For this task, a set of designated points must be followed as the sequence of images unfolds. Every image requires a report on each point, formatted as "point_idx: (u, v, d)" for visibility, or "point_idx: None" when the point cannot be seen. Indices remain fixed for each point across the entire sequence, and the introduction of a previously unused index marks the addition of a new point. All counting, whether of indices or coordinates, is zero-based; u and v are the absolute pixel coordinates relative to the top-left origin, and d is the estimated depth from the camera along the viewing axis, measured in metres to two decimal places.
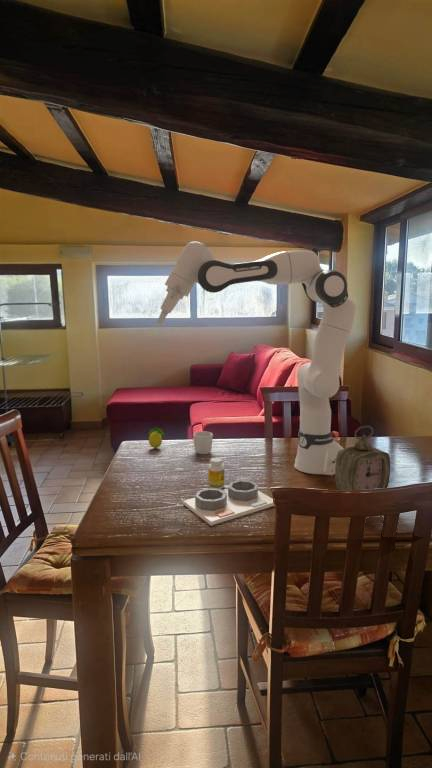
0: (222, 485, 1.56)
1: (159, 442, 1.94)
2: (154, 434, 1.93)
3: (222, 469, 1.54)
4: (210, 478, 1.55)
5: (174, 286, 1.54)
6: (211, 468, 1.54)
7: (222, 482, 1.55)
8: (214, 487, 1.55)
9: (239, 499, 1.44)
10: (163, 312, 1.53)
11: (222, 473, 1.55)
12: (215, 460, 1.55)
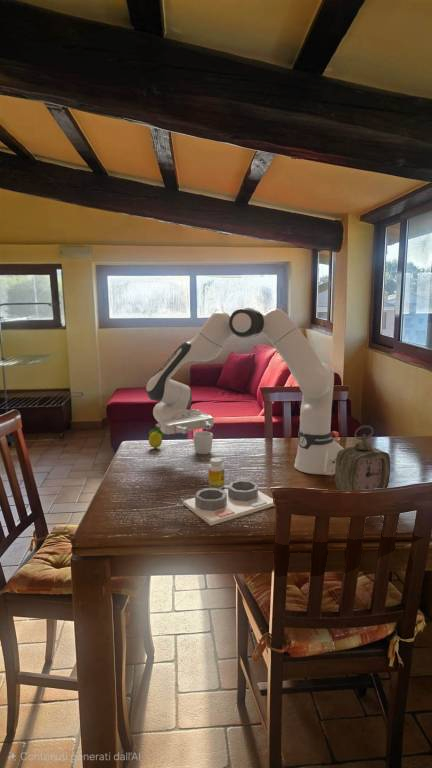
0: (222, 485, 1.56)
1: (159, 442, 1.94)
2: (154, 434, 1.93)
3: (222, 469, 1.54)
4: (210, 478, 1.55)
5: None
6: (211, 468, 1.54)
7: (222, 482, 1.55)
8: (214, 487, 1.55)
9: (239, 499, 1.44)
10: (176, 430, 1.64)
11: (222, 473, 1.55)
12: (215, 460, 1.55)
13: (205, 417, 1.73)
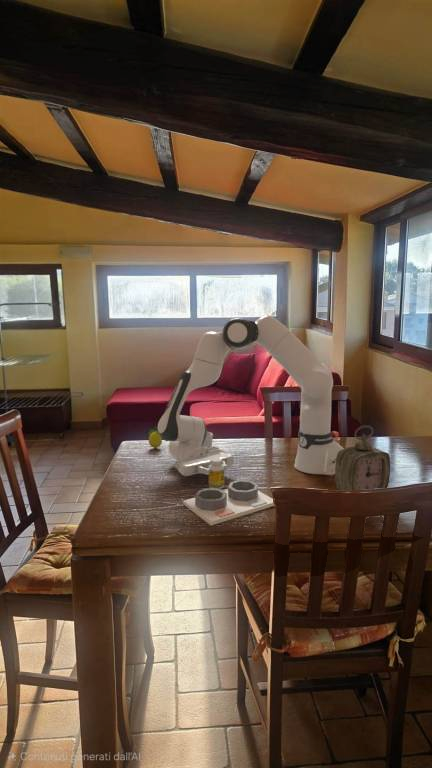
0: (222, 485, 1.56)
1: (159, 442, 1.94)
2: (154, 434, 1.93)
3: (222, 469, 1.54)
4: (210, 478, 1.55)
5: None
6: (211, 468, 1.54)
7: (222, 482, 1.55)
8: (214, 487, 1.55)
9: (239, 499, 1.44)
10: (198, 470, 1.56)
11: (222, 473, 1.55)
12: (215, 460, 1.55)
13: (225, 455, 1.64)
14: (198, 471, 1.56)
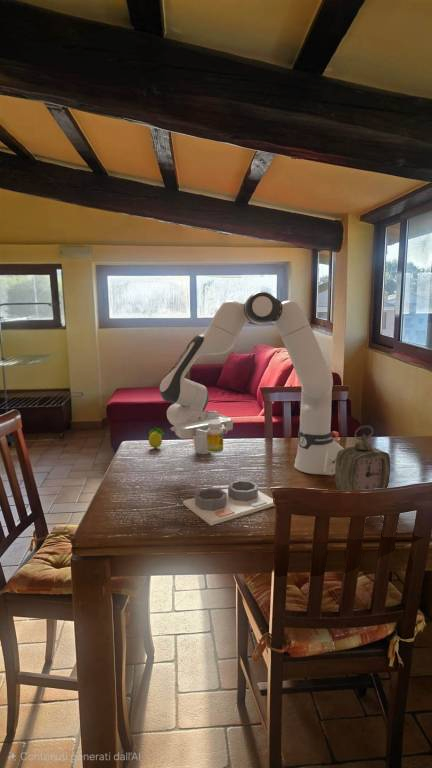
0: (221, 449, 1.51)
1: (159, 442, 1.94)
2: (154, 434, 1.93)
3: (221, 432, 1.50)
4: (208, 442, 1.50)
5: None
6: (209, 431, 1.49)
7: (221, 446, 1.50)
8: (212, 451, 1.50)
9: (239, 499, 1.44)
10: (196, 433, 1.51)
11: (221, 436, 1.50)
12: (213, 423, 1.50)
13: (224, 419, 1.59)
14: (196, 434, 1.51)
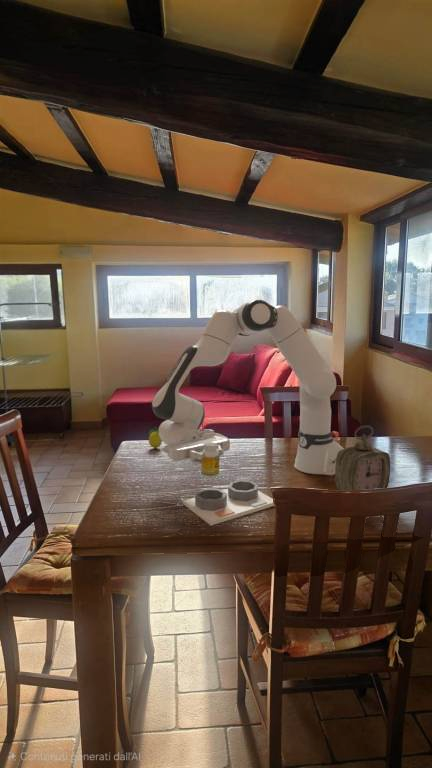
0: (216, 473, 1.38)
1: (159, 442, 1.94)
2: (154, 434, 1.93)
3: (217, 455, 1.37)
4: (203, 465, 1.38)
5: None
6: (204, 453, 1.37)
7: (216, 470, 1.38)
8: (207, 475, 1.37)
9: (239, 499, 1.44)
10: (190, 455, 1.38)
11: (217, 459, 1.37)
12: (209, 444, 1.37)
13: (220, 439, 1.47)
14: (190, 456, 1.39)
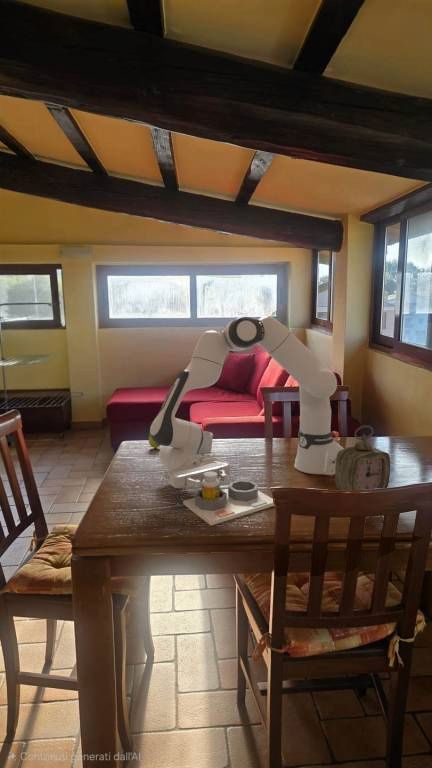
0: None
1: None
2: None
3: (217, 485, 1.39)
4: (203, 495, 1.39)
5: None
6: (204, 483, 1.38)
7: None
8: None
9: (239, 499, 1.44)
10: (187, 482, 1.39)
11: (217, 489, 1.39)
12: (209, 475, 1.39)
13: (220, 464, 1.48)
14: (187, 483, 1.39)
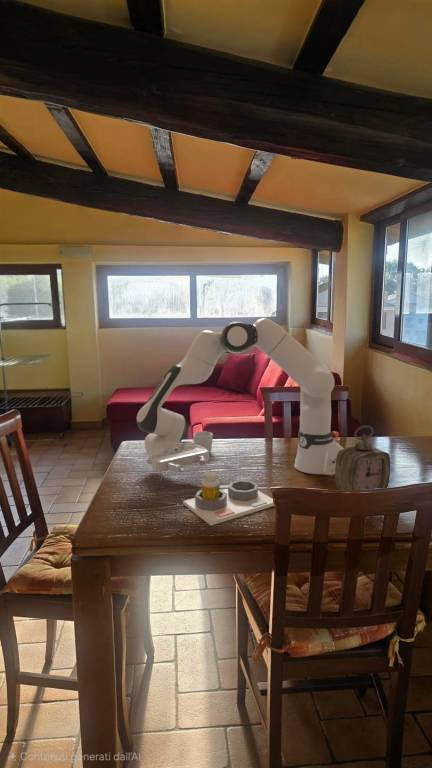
0: None
1: None
2: None
3: (217, 485, 1.39)
4: (203, 495, 1.39)
5: None
6: (204, 483, 1.38)
7: None
8: None
9: (239, 499, 1.44)
10: (167, 467, 1.50)
11: (217, 489, 1.39)
12: (209, 475, 1.39)
13: (200, 451, 1.59)
14: (168, 468, 1.50)
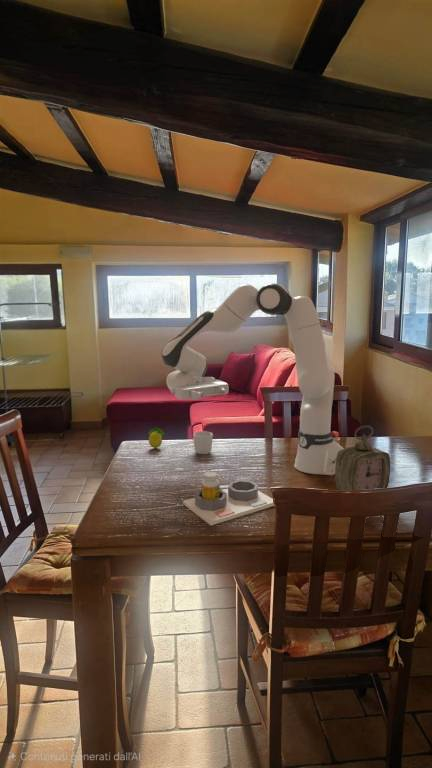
0: None
1: (159, 442, 1.94)
2: (154, 434, 1.93)
3: (217, 485, 1.39)
4: (203, 495, 1.39)
5: None
6: (204, 483, 1.38)
7: None
8: None
9: (239, 499, 1.44)
10: (191, 395, 1.60)
11: (217, 489, 1.39)
12: (209, 475, 1.39)
13: (220, 383, 1.69)
14: (191, 395, 1.60)
